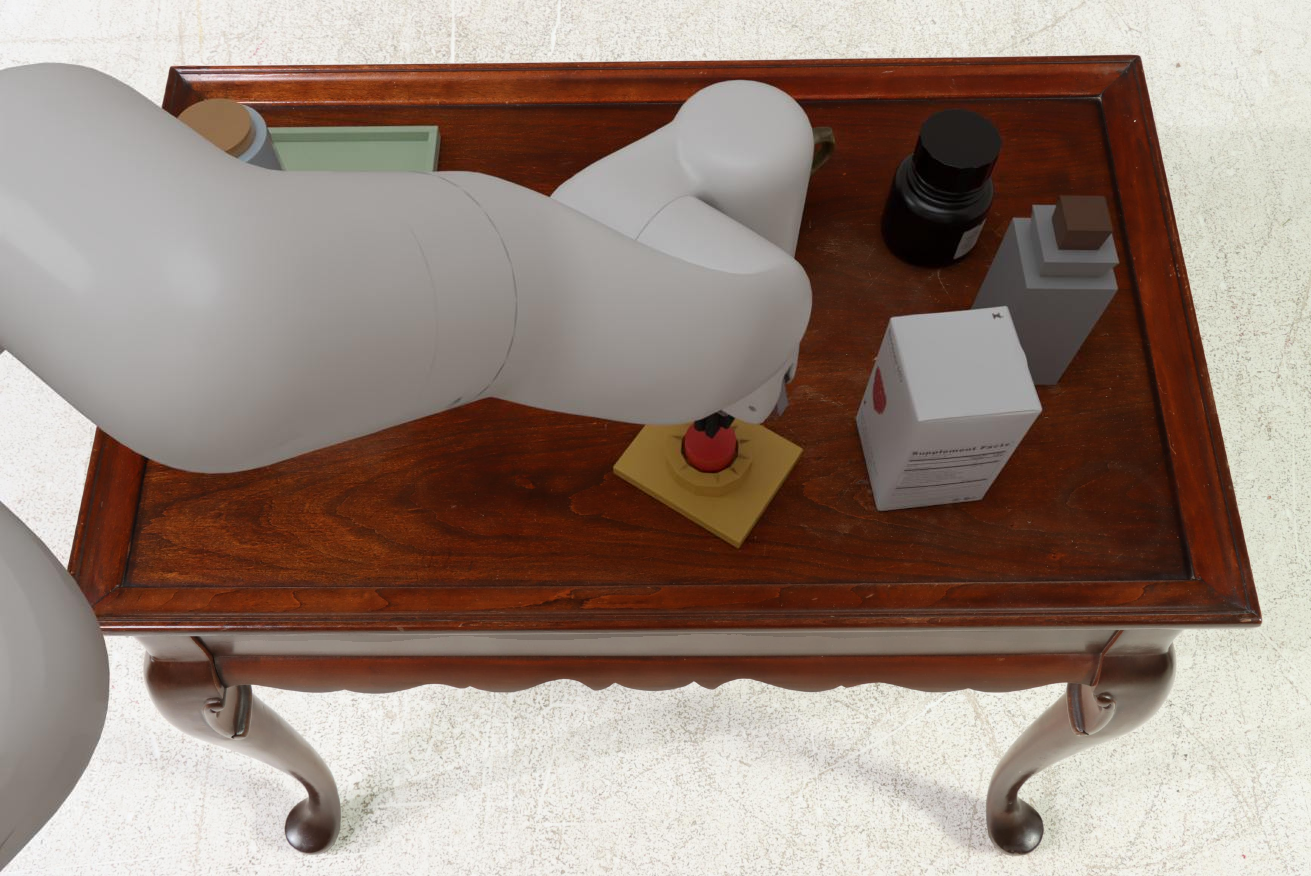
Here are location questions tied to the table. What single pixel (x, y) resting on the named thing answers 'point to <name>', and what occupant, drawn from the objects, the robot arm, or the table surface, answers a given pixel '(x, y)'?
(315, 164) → the tray
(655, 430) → the block
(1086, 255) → the perfume bottle
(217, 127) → the grey cylinder
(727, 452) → the button
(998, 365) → the white product box
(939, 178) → the ink bottle
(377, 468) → the table surface
